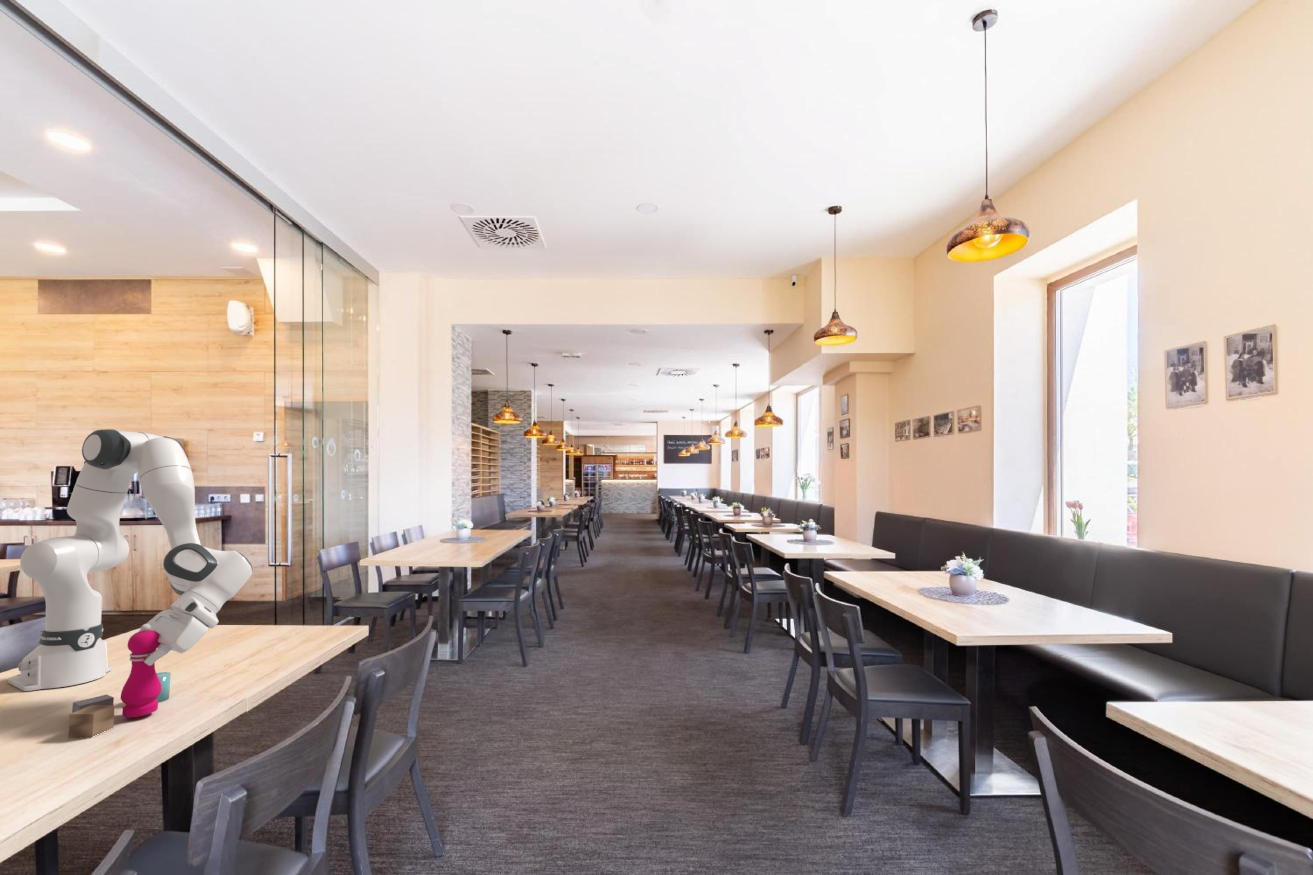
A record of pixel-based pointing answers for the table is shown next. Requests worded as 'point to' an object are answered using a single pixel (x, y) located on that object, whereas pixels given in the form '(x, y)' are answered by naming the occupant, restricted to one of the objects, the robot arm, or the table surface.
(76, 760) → the table surface
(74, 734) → the walnut block
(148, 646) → the pepper mill
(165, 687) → the teal glazed cylinder
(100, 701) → the charcoal block
